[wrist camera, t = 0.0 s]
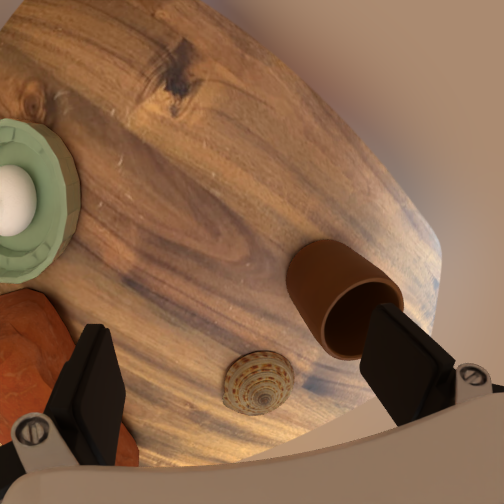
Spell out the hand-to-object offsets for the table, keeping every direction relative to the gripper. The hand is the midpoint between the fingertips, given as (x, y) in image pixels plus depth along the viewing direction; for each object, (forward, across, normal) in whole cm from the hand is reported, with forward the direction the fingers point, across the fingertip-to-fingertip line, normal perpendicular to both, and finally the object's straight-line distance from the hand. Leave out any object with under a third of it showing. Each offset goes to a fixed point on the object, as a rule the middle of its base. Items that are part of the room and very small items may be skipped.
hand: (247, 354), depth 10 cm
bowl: (+18, +19, -4) cm, 26 cm away
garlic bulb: (+18, +19, -4) cm, 26 cm away
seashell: (+18, -4, +18) cm, 26 cm away
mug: (+18, -12, +6) cm, 23 cm away
